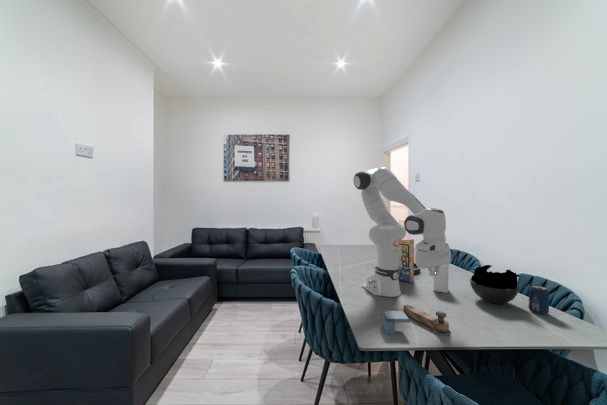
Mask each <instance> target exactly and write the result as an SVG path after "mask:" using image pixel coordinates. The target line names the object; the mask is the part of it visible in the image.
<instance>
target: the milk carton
mask: <svg viewBox="0 0 607 405" xmlns="http://www.w3.org/2000/svg"><path fill="white" fill-rule="evenodd" d="M449 264H450V263H449ZM449 264H444V265H440V269H439V273H438V275H435V276H433V291H434V292H439V293H444V294H448V292H449ZM434 268H435V267H434Z"/></svg>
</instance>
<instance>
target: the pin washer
mask: <svg viewBox="0 0 607 405" xmlns="http://www.w3.org/2000/svg"><path fill="white" fill-rule="evenodd" d="M430 330H431V331H432V332H433V333H435V334H437V335H440V336H450V335H451V332H452V331H451V330H450V329H449V332H448V333H440V332H437V331H435V330H434V329H433V328H431V327H430Z"/></svg>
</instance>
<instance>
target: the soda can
mask: <svg viewBox="0 0 607 405" xmlns="http://www.w3.org/2000/svg"><path fill="white" fill-rule="evenodd" d="M528 309H529V311H530V312H531V313H532V314H536V315H538V316H539V315H540V316H547V315H548V314H549V312H550V292H549V290H548V287H546V286H542V285H538V284H531V285H530V287H529V288H528Z"/></svg>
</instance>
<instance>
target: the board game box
mask: <svg viewBox="0 0 607 405" xmlns="http://www.w3.org/2000/svg"><path fill="white" fill-rule="evenodd" d="M393 248H394V250H395V252H396V253H397V254H398V268H399V276H398V279H399V281H401V282H402V281H403V282H407V283H413V282H414V281H415V239H413V238H406V237H404V238H403V239H402V240H400V241H398V242H394V243H393Z"/></svg>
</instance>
